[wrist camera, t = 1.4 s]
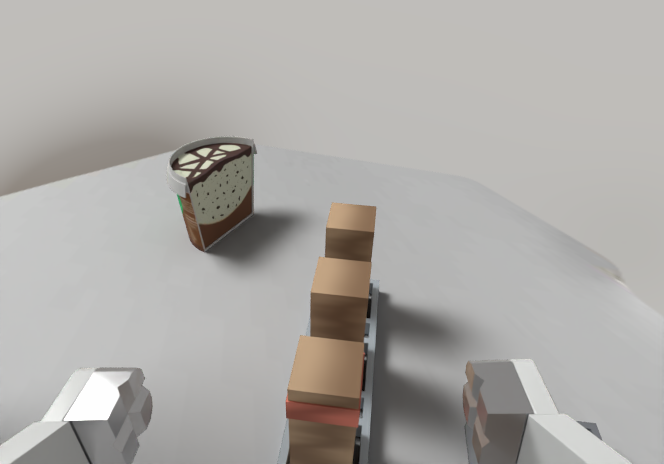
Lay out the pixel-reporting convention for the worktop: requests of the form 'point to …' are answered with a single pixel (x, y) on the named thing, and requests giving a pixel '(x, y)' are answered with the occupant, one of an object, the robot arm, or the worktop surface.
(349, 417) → the block
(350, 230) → the plain cartridge
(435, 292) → the worktop surface
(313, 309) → the plain cartridge
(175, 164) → the food container
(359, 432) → the holder
